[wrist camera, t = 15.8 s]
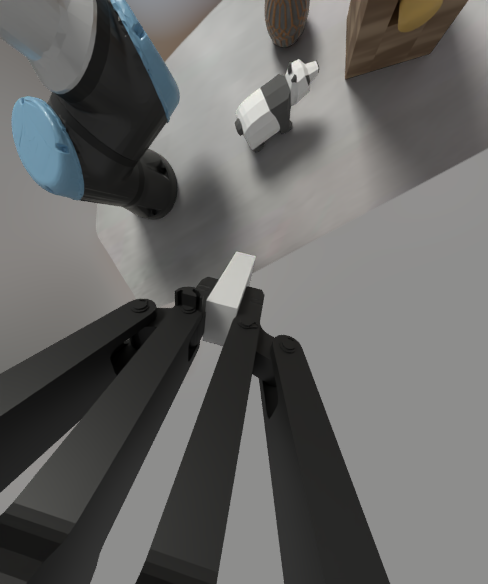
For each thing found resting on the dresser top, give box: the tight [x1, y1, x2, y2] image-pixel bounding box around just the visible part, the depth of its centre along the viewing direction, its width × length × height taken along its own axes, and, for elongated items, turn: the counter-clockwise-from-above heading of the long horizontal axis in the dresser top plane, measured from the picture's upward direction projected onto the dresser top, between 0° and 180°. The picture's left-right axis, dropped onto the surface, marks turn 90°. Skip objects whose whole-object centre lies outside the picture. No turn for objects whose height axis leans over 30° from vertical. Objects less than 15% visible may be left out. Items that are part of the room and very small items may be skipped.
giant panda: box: [235, 59, 319, 152], centre depth 33 cm, size 15×6×10 cm, turn 118°
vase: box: [265, 0, 310, 47], centre depth 30 cm, size 7×7×9 cm
